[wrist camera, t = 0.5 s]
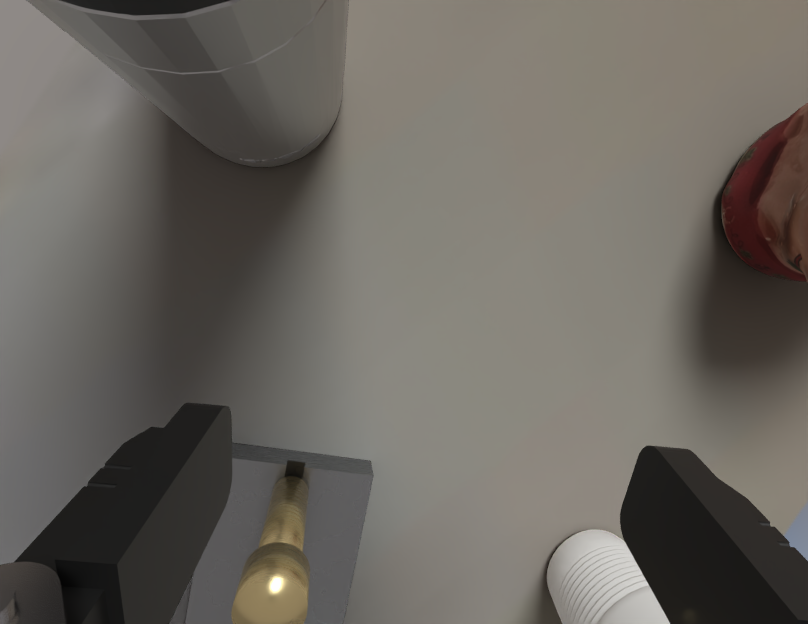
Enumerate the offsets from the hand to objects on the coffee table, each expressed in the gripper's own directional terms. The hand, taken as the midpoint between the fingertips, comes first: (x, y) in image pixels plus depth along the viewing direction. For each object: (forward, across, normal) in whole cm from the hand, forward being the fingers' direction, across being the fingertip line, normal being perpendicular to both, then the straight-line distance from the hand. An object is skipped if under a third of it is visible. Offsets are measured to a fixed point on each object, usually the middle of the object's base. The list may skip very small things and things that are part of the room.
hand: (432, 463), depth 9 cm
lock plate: (+15, +6, +19) cm, 25 cm away
